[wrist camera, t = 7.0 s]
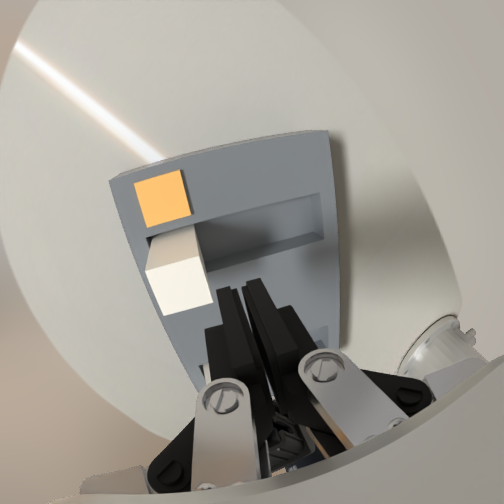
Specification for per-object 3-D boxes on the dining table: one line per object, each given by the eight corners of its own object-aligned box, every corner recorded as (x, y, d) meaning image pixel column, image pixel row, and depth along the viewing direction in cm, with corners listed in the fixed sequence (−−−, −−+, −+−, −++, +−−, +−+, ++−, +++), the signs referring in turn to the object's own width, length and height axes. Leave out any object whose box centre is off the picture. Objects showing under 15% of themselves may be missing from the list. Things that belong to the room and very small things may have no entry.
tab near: (193, 222, 16) (199, 255, 11) (203, 258, 17) (213, 302, 12) (153, 233, 15) (144, 271, 11) (165, 269, 16) (163, 316, 12)
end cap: (239, 447, 30) (251, 487, 24) (204, 433, 27) (213, 480, 21) (301, 413, 30) (321, 455, 24) (272, 396, 27) (293, 446, 21)
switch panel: (305, 130, 17) (329, 130, 14) (324, 350, 25) (338, 372, 22) (120, 173, 15) (107, 181, 12) (205, 388, 24) (210, 415, 21)
